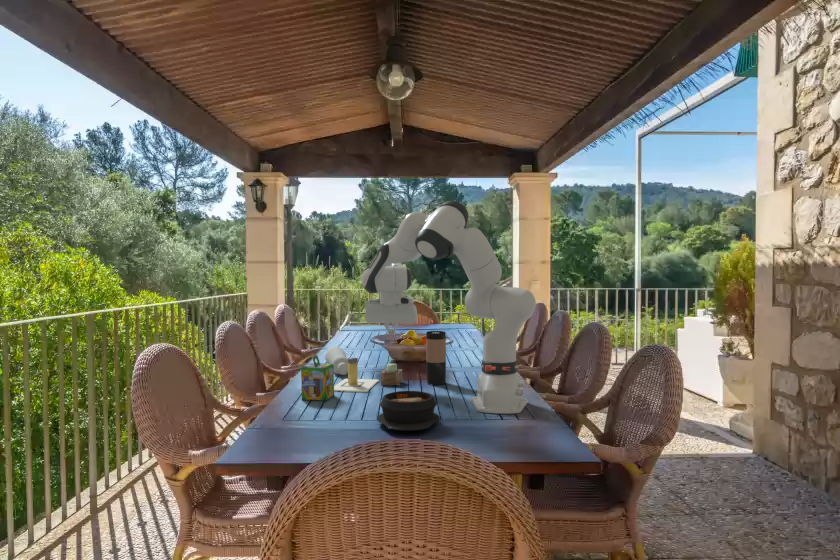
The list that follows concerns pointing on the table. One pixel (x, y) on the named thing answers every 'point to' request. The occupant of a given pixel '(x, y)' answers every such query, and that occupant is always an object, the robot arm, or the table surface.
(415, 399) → the casserole
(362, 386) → the drawing pad
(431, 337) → the travel mug
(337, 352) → the bottle
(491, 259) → the robot arm
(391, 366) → the button
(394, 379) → the button housing
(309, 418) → the table surface
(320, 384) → the chalk box
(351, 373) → the spice shaker
